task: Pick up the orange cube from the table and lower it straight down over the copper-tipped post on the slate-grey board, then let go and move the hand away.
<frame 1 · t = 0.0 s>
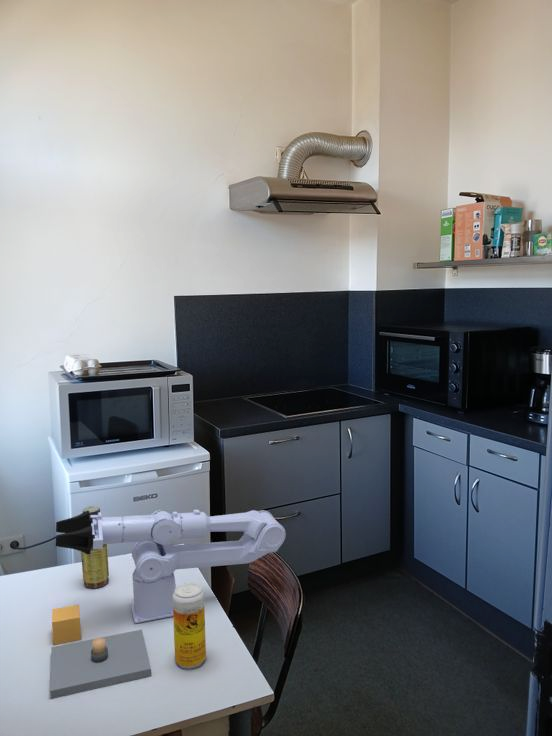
hand: (55, 533, 127), 22 cm above the table, tool horizontal, fingers open, 7 cm apart
post board: (100, 664, 118), on the table
beer can: (190, 661, 118), on the table
sauce bottle: (96, 584, 150), on the table
orange cube: (67, 635, 128), on the table
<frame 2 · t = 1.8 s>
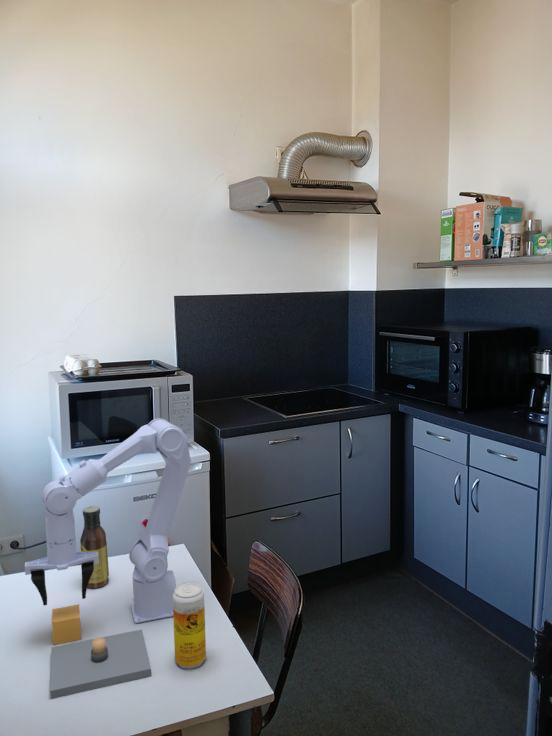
hand: (64, 599, 127), 8 cm above the table, tool pointing down, fingers open, 7 cm apart
nothing on the table moved.
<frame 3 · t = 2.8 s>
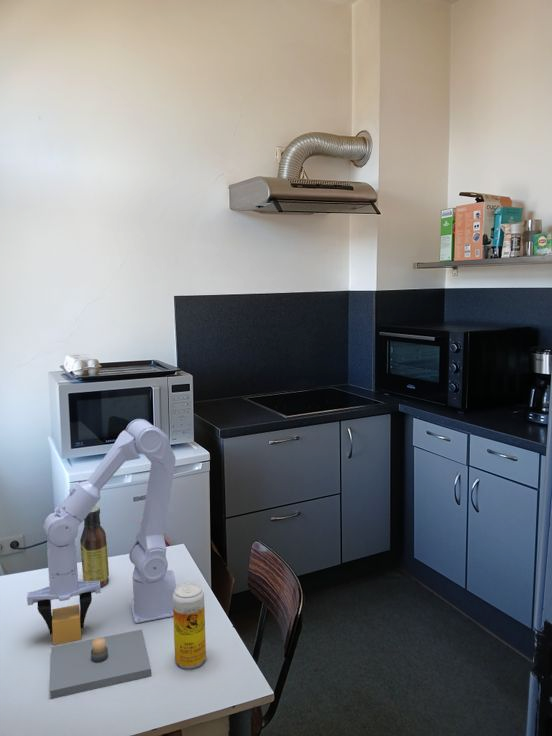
hand: (66, 628, 127), 1 cm above the table, tool pointing down, fingers closed on orange cube, 5 cm apart
orange cube: (67, 635, 128), on the table, touching gripper
everything else where it was.
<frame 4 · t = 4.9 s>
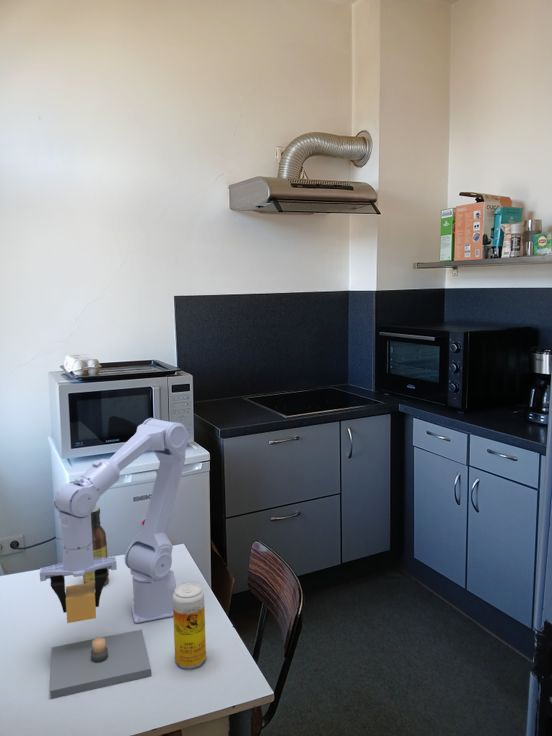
hand: (81, 607, 121), 9 cm above the table, tool pointing down, fingers closed on orange cube, 5 cm apart
orange cube: (81, 613, 121), point 8 cm above the table, touching gripper
everything else where it was.
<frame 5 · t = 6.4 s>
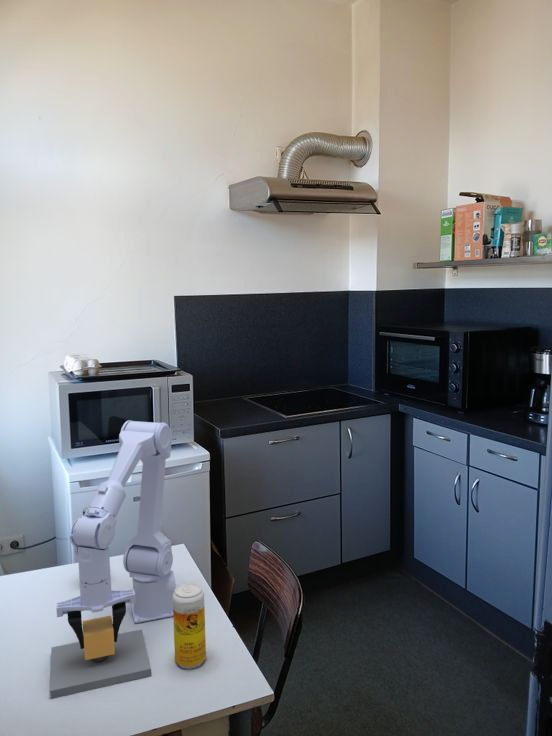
hand: (98, 642, 117), 5 cm above the table, tool pointing down, fingers closed on orange cube, 5 cm apart
orange cube: (99, 649, 117), point 3 cm above the table, touching gripper
everything else where it was.
when the fingers open (4 cm above the table, at t = 7.2 s): orange cube stays where it is, resting on post board.
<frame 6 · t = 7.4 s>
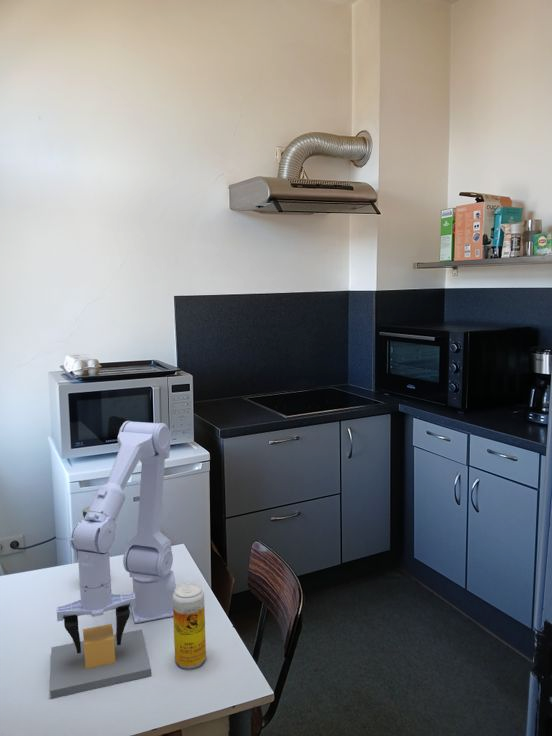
hand: (99, 646, 117), 4 cm above the table, tool pointing down, fingers open, 7 cm apart
orange cube: (99, 657, 117), point 1 cm above the table, touching post board
everything else where it was.
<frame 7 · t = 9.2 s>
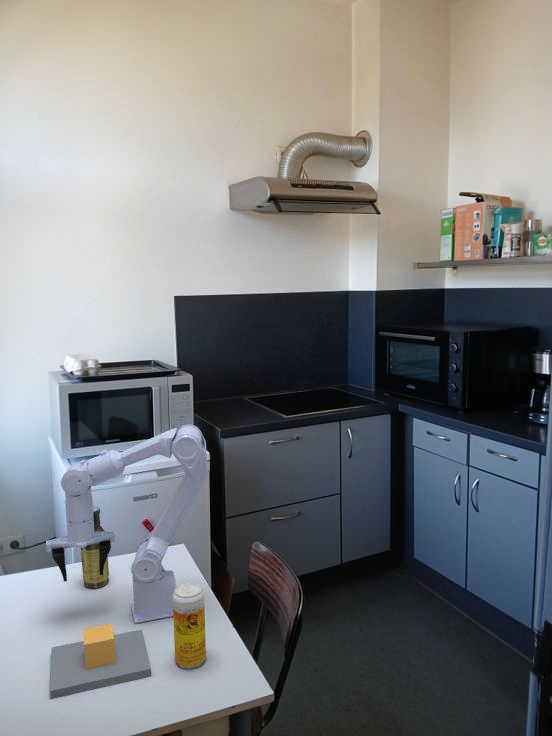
hand: (83, 576, 134), 9 cm above the table, tool pointing down, fingers open, 7 cm apart
nothing on the table moved.
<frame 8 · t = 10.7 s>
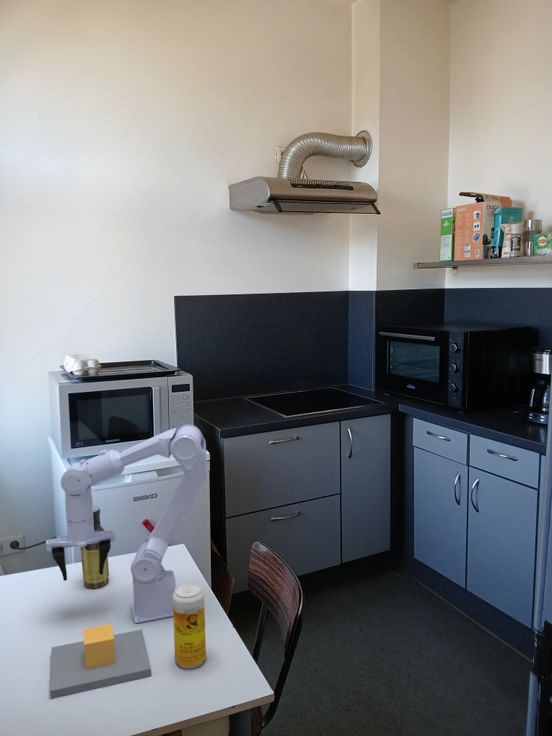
hand: (83, 575, 134), 9 cm above the table, tool pointing down, fingers open, 7 cm apart
nothing on the table moved.
at the end: orange cube 0.1 cm off-centre on the post board, point 1.5 cm above the post board's base; orange cube tilted 0°; the gripper is holding nothing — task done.
